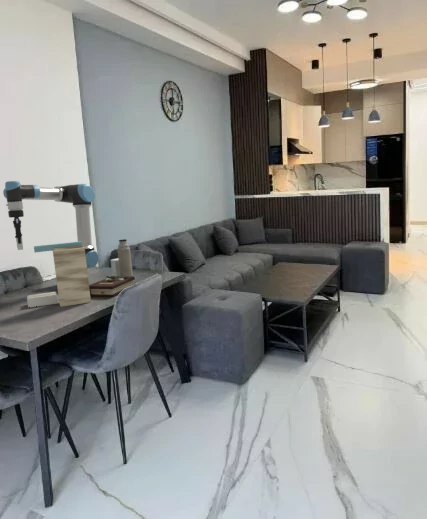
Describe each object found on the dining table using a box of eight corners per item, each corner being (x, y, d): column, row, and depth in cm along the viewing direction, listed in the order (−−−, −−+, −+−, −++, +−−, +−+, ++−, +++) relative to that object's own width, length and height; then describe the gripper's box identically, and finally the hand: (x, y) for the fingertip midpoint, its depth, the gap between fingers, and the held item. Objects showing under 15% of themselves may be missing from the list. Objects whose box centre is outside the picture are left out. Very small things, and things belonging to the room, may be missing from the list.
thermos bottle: (124, 280, 290) (120, 238, 286) (135, 281, 288) (131, 238, 283) (118, 283, 283) (114, 240, 278) (129, 283, 280) (125, 240, 276)
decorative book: (82, 285, 250) (111, 274, 278) (84, 298, 251) (112, 286, 279) (111, 285, 244) (138, 274, 271) (113, 299, 245) (139, 286, 273)
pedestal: (59, 302, 244) (52, 247, 238) (89, 298, 249) (82, 244, 244) (60, 306, 234) (52, 249, 229) (90, 302, 240) (84, 245, 235)
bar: (34, 251, 232) (33, 246, 232) (81, 246, 241) (80, 241, 240) (34, 252, 230) (33, 246, 229) (82, 247, 238) (81, 241, 237)
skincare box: (122, 278, 298) (120, 257, 295) (128, 279, 294) (125, 257, 291) (112, 281, 292) (109, 259, 289) (117, 282, 288) (115, 260, 285)
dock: (28, 304, 244) (27, 295, 244) (57, 300, 250) (55, 291, 249) (28, 307, 237) (27, 298, 236) (57, 303, 242) (56, 294, 242)
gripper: (8, 210, 249) (12, 247, 252) (8, 210, 227) (12, 251, 230) (22, 209, 252) (26, 246, 255) (23, 209, 230) (28, 249, 233)
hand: (20, 248), depth 242 cm, fingers open, 13 cm apart
